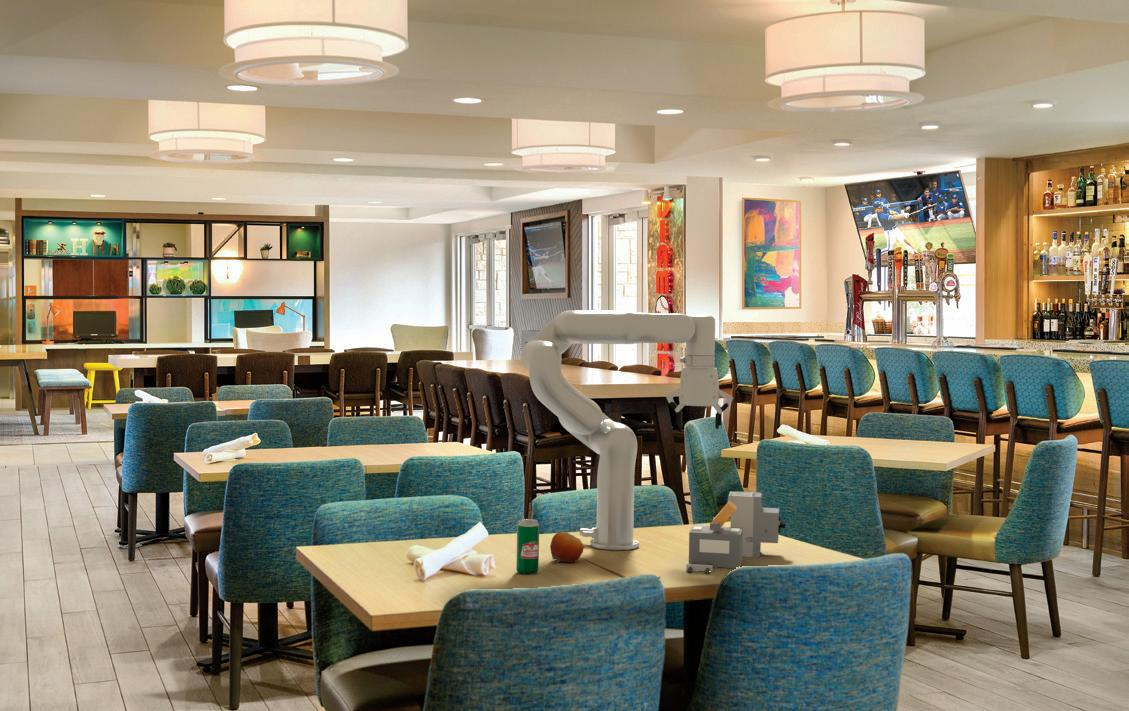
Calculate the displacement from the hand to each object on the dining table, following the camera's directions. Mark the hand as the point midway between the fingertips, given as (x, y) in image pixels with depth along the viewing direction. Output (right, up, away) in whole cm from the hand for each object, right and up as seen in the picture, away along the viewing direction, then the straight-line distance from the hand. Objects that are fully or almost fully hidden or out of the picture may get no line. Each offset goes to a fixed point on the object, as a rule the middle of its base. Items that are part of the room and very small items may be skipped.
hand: (698, 427), depth 306 cm
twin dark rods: (-3, -31, -32) cm, 45 cm away
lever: (+2, -22, -24) cm, 33 cm away
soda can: (-44, -31, -38) cm, 66 cm away
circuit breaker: (+13, -31, -12) cm, 36 cm away
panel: (+1, -31, -24) cm, 39 cm away
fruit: (-35, -31, -25) cm, 52 cm away
